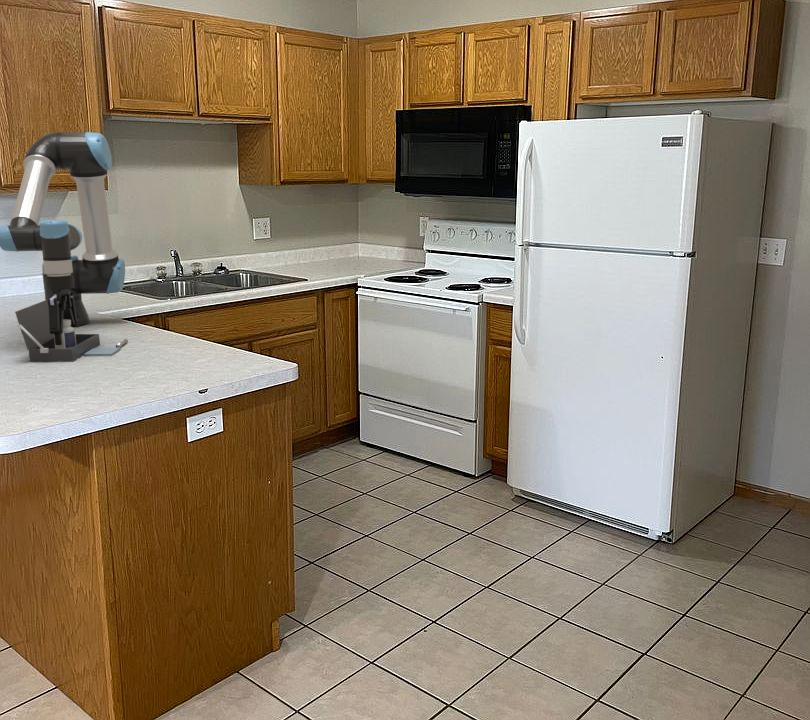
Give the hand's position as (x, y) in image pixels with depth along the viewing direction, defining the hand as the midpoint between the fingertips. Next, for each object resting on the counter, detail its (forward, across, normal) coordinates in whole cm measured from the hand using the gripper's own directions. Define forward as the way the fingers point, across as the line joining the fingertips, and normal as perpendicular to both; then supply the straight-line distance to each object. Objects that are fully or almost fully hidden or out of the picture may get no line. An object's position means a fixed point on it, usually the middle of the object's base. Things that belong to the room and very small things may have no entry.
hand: (66, 352), depth 239 cm
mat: (0, 0, +10) cm, 11 cm away
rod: (0, -10, +13) cm, 16 cm away
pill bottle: (0, 0, 0) cm, 0 cm away
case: (0, 0, -1) cm, 1 cm away
